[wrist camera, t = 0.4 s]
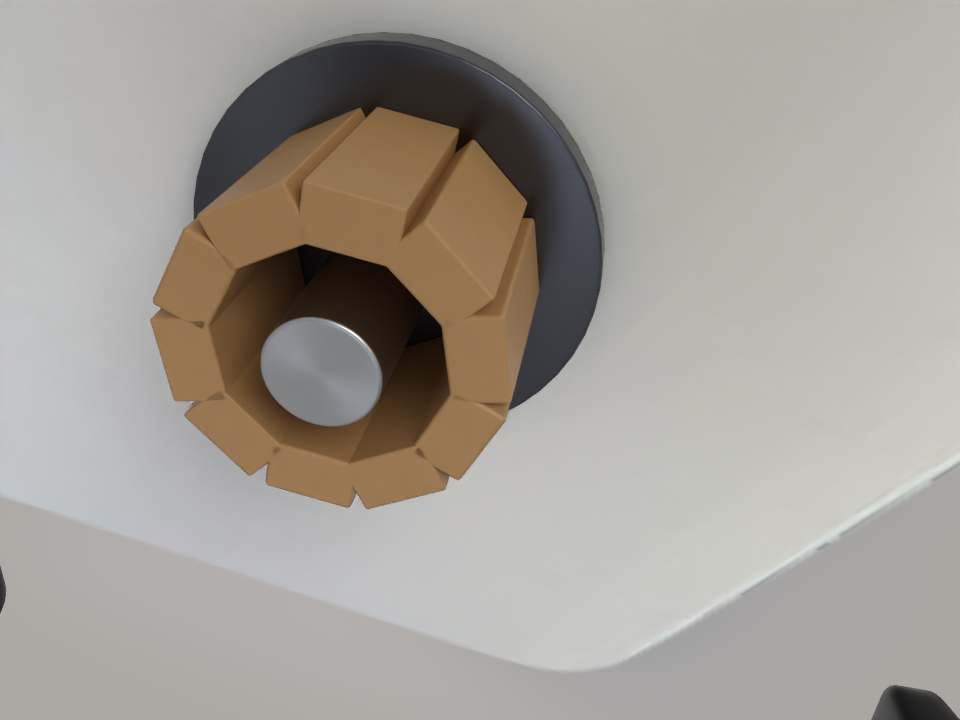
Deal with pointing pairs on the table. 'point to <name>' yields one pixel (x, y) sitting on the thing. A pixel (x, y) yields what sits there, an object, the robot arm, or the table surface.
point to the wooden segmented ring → (374, 238)
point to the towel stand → (374, 288)
